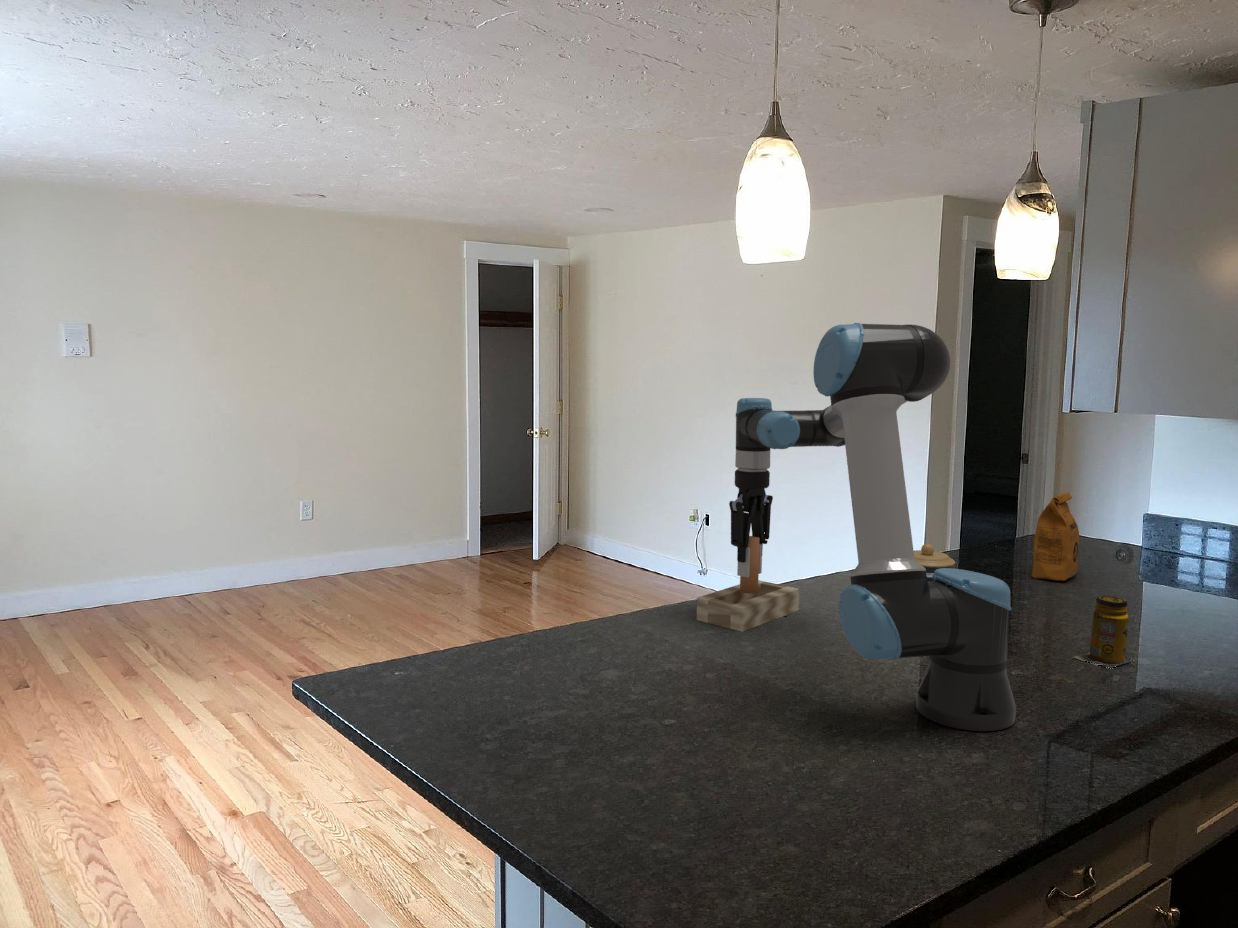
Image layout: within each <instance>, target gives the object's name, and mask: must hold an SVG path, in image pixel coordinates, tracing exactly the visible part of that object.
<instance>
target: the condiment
mask: <svg viewBox="0 0 1238 928" xmlns="http://www.w3.org/2000/svg"><path fill="white" fill-rule="evenodd" d="M1095 602H1096V604H1095V606H1094V608H1095V609H1094V610H1093V612H1092V617H1091V619H1092V620H1091V630H1090V631H1091V632H1090V643H1089V644H1090V645H1089V652H1087V653H1083V654H1080V655H1075V656H1073V658H1074V659H1077V660H1079V661H1082V662H1085V661H1087V662H1086V663H1088V661H1099V662H1102V663H1107V665H1108V664H1120V663H1123V662H1124V661H1125V660H1124V659H1125V658H1126V655H1127V642H1128V641H1127V640H1128V632H1129V631H1128V629H1129V615H1128V613H1127V612H1128V601H1127V600H1126V599H1124V598H1123V597H1122V598H1121V597H1118V596H1113V595H1112V596H1111V595H1100V596H1097V597H1096V599H1095ZM1086 657H1090V658H1089V659H1088V658H1086ZM1132 660H1133V659H1132ZM1133 661H1134V662H1135V660H1133ZM1094 663H1095V662H1093V663H1091V662H1090V663H1089V664H1091V665H1094V666H1098V665H1103V664H1096V663H1095V664H1094ZM1097 663H1098V662H1097ZM1115 667H1116V666H1115ZM1116 668H1117V667H1116ZM1106 669H1109V667H1108V668H1107V667H1106ZM1112 669H1114V668H1112ZM1112 669H1111V668H1110V669H1109V670H1112Z"/></svg>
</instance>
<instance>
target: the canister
mask: <svg viewBox="0 0 1238 928" xmlns="http://www.w3.org/2000/svg"><path fill="white" fill-rule="evenodd" d="M913 551H914V558H915V560H916V561H917V562H918V563H919V564H921V565H922V566H923V567H924V568H925V569H926V574H927V581H934V578H933V575H934V572H935V570H937V569H939V568H952V569H955V567H954V566H955V564H956V561H955V560H954V559H953V558H951V557H950V556H949V554H948V553H947V554H946V553H944V552H941V551H936V550H935V547H934V546H933V545H932V544H931V543H924V544H923V545H922V546H921V548H920V549H919V550H918V549H917V550H916V549H915V550H913Z"/></svg>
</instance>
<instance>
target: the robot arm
mask: <svg viewBox="0 0 1238 928" xmlns="http://www.w3.org/2000/svg"><path fill="white" fill-rule="evenodd" d="M950 369H951V355H950V352H949V348H948V346H947V345H946V343H945V341H944V340H943V339H942V337H941V336H939V334H937V333H936V332H935V331H933V330H931V329H930V328H928V327H925V326H923V325H917V324H889V323H888V324H885V323H884V324H882V323H881V324H880V323H861V322H854V323H849V324H848V323H847V324H845V323H844V324H836V325H834V326H832V327H831V328H829V329H828V330H827V331H826V332H825V333H824V335H823V336H822V337H821V339H820V341H819V344H818V347H817V349H816V352H815V355H814V362H813V371H812V372H813V381H814V382H813V383H814V386H815V388H816V389H817V392H818V393H819V394H820V395H823V396H824V397H830V405H829V406H827V407H825V408H824V409H816V410H813V409H811V410H809V409H808V410H773V405H772V401H771V400H770V399H769V398H764V397H763V398H762V397H743V398H739V400H738V401H737V403H736V411H735V462H734V464H735V465H734V466H735V468H737V469H736V470H735V471H734V486H735V487H736V488H738V493H737V497H736V499H735V500H730V501H729V503H728V504H729V509H730V545H731V546H733V547H737V548H736V549H737V550H736V551H737V552H736V553H737V554H736V555H737V556H736V557H737V558H736V561H737V572H736V573H737V574H736V575H737V576H739V577H740V576H743V577H747V578H748V577H749V576H750V548H749V547H748V541H749V536H750V534H751V536H756V537H759V538H760V540H759V574H762V572H763V571H762V569H763V567H762V565H763V547H764V545H767V544H768V541H769V539H770V532H771V530H770V528H771V513H772V510H771V508H772V504H773V499H774V498H773V497H774V496H773V495H770V494H766V489H767V488H769V487H770V482H771V481H770V477H771V476H770V474H771V472H770V470H769V469H770V468H771V449H772V450H786V449H789V448H797V447H798V448H803V447H836V448H837V447H838V448H839V447H843V446H845V456H846V465H847V473H848V483H849V489H850V490H849V491H850V498H851V507H852V516H853V517H852V518H853V525H854V534H855V543H856V551H857V552H856V553H857V561H858V564H857V566H855V568H854V569H853V571H851V573H850V575H849V577H850V578H849V579H850V585H848V586H847V587H845V588H843V590H842V592H841V593H840V597H839V599H840V601H839V602H838V603H839V604H838V614H839V620H840V623H841V628H842V630H843V633H844V635H845V638H846V639H847V641H848V643H849V644H850V645H851V647H852V648H853V650H854V651H855V652H856V653H857V654H858V655H860V656H861V657H863V658H864V659H868V660H874V661H875V660H876V661H879V660H883V661H884V660H886V661H896V660H898V659H899V660H900V659H909V658H920V657H929V661H928V665H927V667H926V670H925V672H924V674H923V677H922V679H921V681H920V684H919V687H918V689H917V690H916V696H915V697H916V698H915V707H916V711H917V712H918V713H919V714H920V715H921V716H923V717H924V718H926V719H927V720H930V721H931V722H934V723H937V724H940V725H942V726H946V727H950V728H954V729H958V730H965V731H974V732H975V731H976V732H994V731H1000V730H1005V729H1007V728H1010V727H1012V726H1013V724H1014V723H1015V722H1016V714H1017V713H1016V712H1017V706H1016V702H1015V699H1014V695H1013V692H1012V689H1011V684H1010V681H1009V677H1008V673H1007V663H1008V661H1007V660H1008V647H1009V630H1010V619H1011V612H1012V607H1011V589H1010V587H1009V585H1008V584H1007V583H1006V582H1005V581H1004V580H1002V579H1000V578H998V577H995V576H992V575H988V574H984V573H981V572H978V571H977V572H975V571H971V570H966V569H960V568H954V569H952V568H939V569H937V570H935V572H934V575H933V578H934V581H927V574H926V569H925V568H924V567H923V566H922V565H921V564H919V563H918V562H917V561H916V560H915V558H914V551H915V550H914V544H913V543H914V542H913V537H912V536H913V535H912V528H911V519H910V512H909V511H910V510H909V505H908V504H909V503H908V497H907V496H908V495H907V486H906V480H905V478H906V477H905V471H904V463H903V457H902V456H903V455H902V446H901V440H900V432H899V430H900V429H899V422H898V415H897V412H898V410H899V408H900V407H901V406H903V405H904V404H906V403H907V402H908V403H909V402H911V403H912V402H913V403H914V402H916V403H917V402H919V401H921V400H924V399H925V398H928V397H929V396H931V395H932V394H933V393H935V392H936V391H937V390H939V389H940V388H941V387H942V386H943V385H944V383H945V381H946V379H947V378H948V376H949V373H950Z"/></svg>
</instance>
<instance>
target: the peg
mask: <svg viewBox="0 0 1238 928" xmlns="http://www.w3.org/2000/svg"><path fill="white" fill-rule="evenodd" d="M759 540H760V538H759V537H756V536H752V535H749V541H748V547H749V548H750V576H749V577H748V578H747V577H743V576H739V577H740V578H739V579H740V580H739V584H740V592H743V593H757V592H758V580H759Z"/></svg>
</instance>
